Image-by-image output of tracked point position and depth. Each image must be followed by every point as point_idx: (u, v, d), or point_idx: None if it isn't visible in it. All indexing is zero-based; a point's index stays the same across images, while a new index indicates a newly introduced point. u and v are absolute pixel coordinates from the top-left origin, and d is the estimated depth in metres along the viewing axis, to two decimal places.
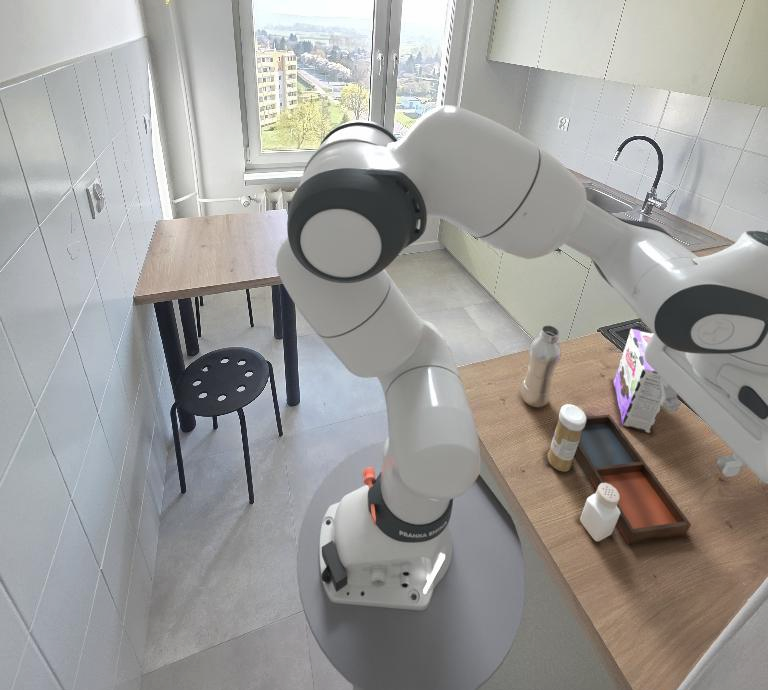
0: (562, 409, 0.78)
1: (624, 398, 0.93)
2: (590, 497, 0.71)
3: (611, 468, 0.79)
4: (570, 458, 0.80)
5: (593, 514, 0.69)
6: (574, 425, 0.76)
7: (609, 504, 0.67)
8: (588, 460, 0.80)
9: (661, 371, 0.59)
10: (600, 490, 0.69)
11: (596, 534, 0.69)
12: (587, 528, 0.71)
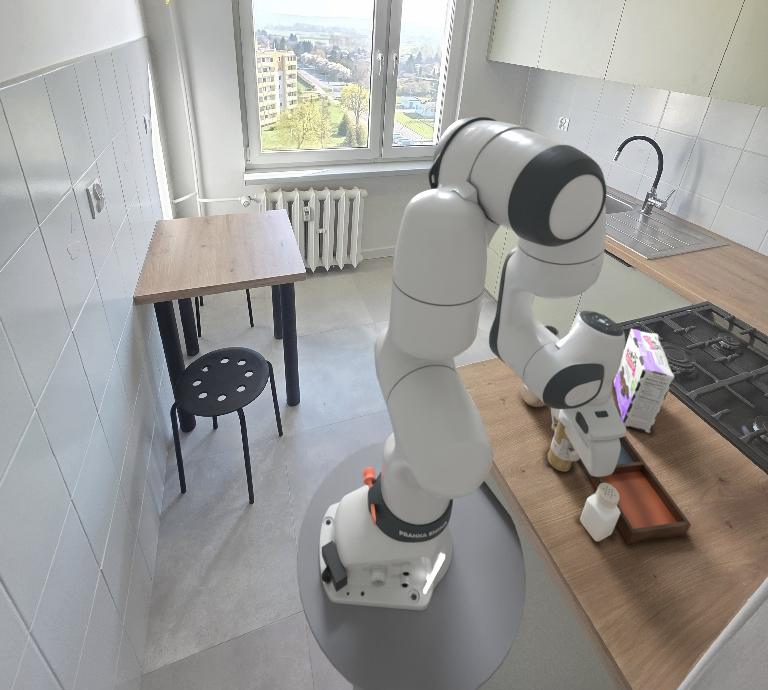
0: None
1: (624, 398, 0.93)
2: (590, 497, 0.71)
3: None
4: None
5: (593, 514, 0.69)
6: None
7: (609, 504, 0.67)
8: None
9: None
10: (600, 490, 0.69)
11: (596, 534, 0.69)
12: (587, 528, 0.71)
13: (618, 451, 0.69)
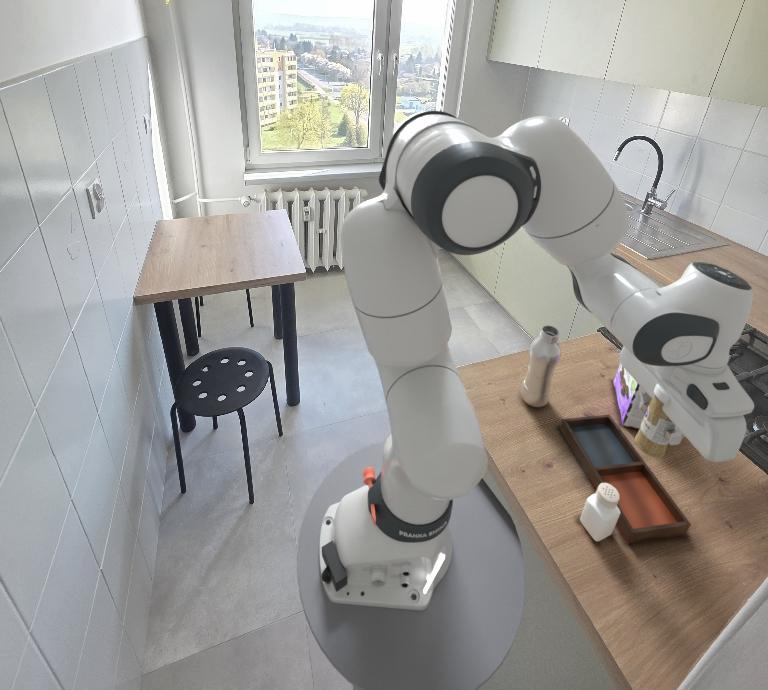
0: None
1: (624, 398, 0.93)
2: (590, 497, 0.71)
3: (611, 468, 0.79)
4: (667, 442, 0.68)
5: (593, 514, 0.69)
6: None
7: (609, 504, 0.67)
8: (588, 460, 0.80)
9: (632, 372, 0.72)
10: (600, 490, 0.69)
11: (596, 534, 0.69)
12: (587, 528, 0.71)
13: (744, 430, 0.56)
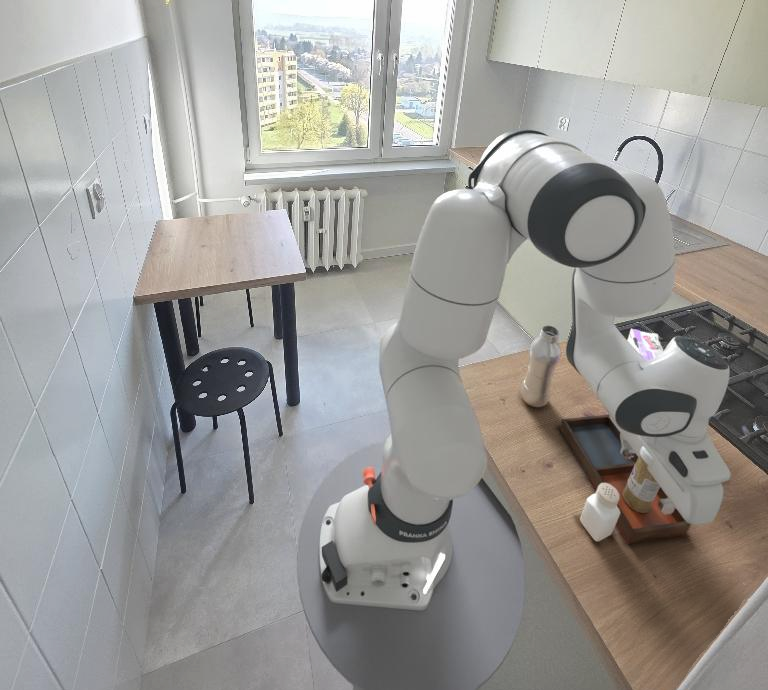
0: None
1: None
2: (590, 497, 0.71)
3: (611, 468, 0.79)
4: (652, 499, 0.72)
5: (593, 514, 0.69)
6: None
7: (609, 504, 0.67)
8: (588, 460, 0.80)
9: (620, 428, 0.76)
10: (600, 490, 0.69)
11: (596, 534, 0.69)
12: (587, 528, 0.71)
13: (721, 497, 0.61)
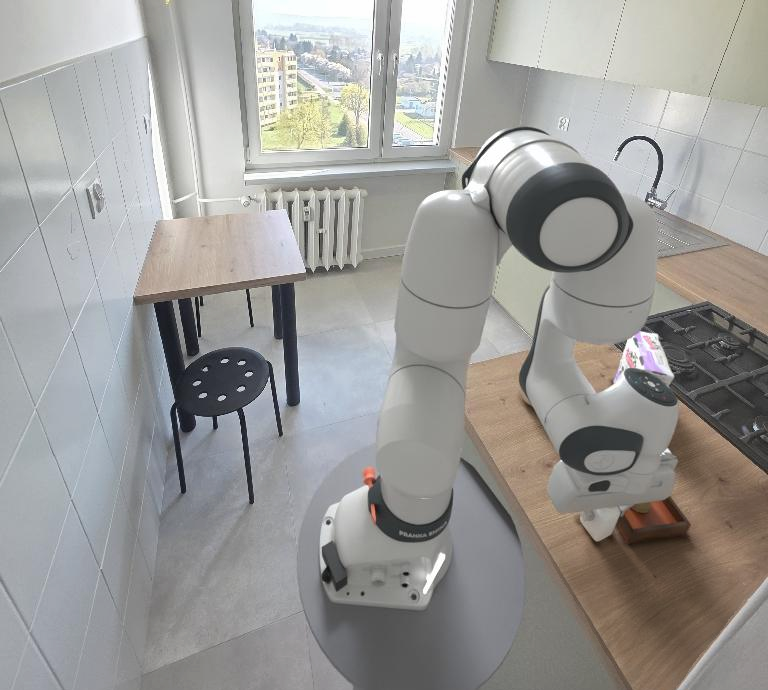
0: None
1: None
2: None
3: None
4: None
5: None
6: None
7: None
8: None
9: None
10: None
11: (596, 534, 0.69)
12: (587, 528, 0.71)
13: (567, 492, 0.64)
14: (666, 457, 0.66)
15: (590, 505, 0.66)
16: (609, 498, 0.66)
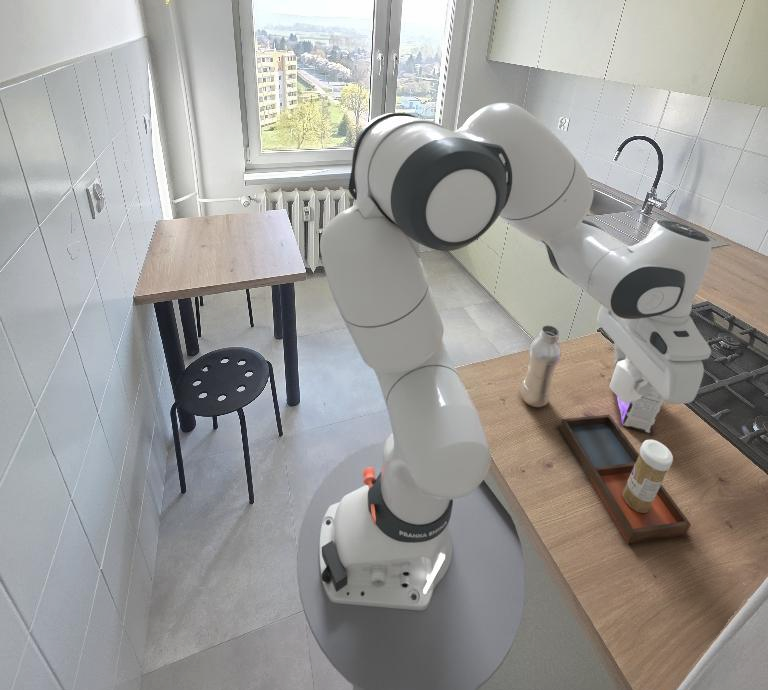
0: (644, 446, 0.71)
1: None
2: (632, 374, 0.71)
3: (611, 468, 0.79)
4: (651, 499, 0.72)
5: None
6: (660, 465, 0.68)
7: None
8: (588, 460, 0.80)
9: (607, 330, 0.76)
10: None
11: None
12: (634, 398, 0.73)
13: (701, 374, 0.61)
14: None
15: None
16: None
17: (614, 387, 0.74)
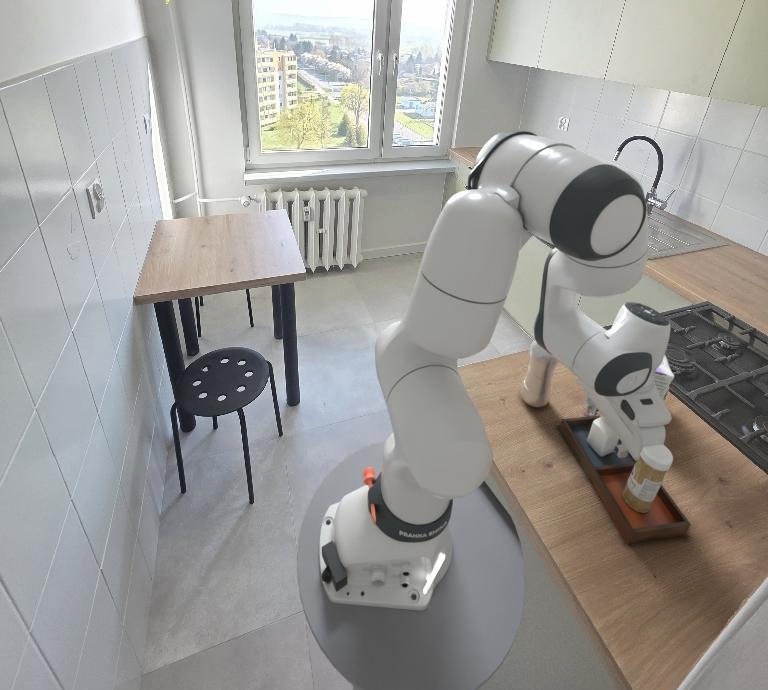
0: None
1: None
2: (606, 433, 0.81)
3: (611, 468, 0.79)
4: (651, 499, 0.72)
5: (614, 438, 0.82)
6: (660, 465, 0.68)
7: None
8: (588, 460, 0.80)
9: (584, 387, 0.86)
10: None
11: None
12: (608, 452, 0.83)
13: (663, 437, 0.71)
14: None
15: None
16: None
17: (591, 442, 0.85)
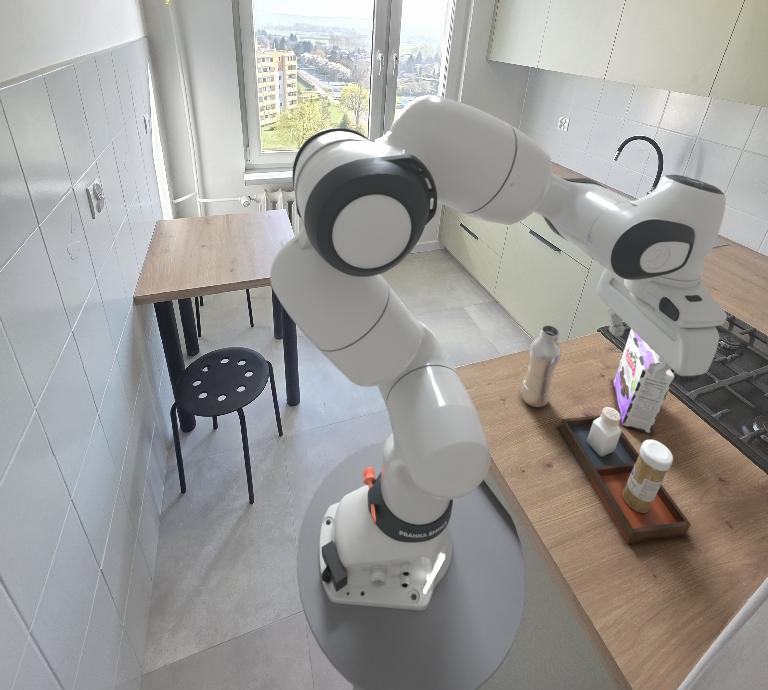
0: (644, 446, 0.71)
1: (624, 398, 0.93)
2: (606, 433, 0.81)
3: (611, 468, 0.79)
4: (651, 499, 0.72)
5: (614, 438, 0.82)
6: (660, 465, 0.68)
7: None
8: (588, 460, 0.80)
9: (608, 301, 0.71)
10: (613, 419, 0.80)
11: (615, 446, 0.83)
12: (608, 452, 0.83)
13: (716, 342, 0.55)
14: None
15: None
16: None
17: (591, 442, 0.85)
